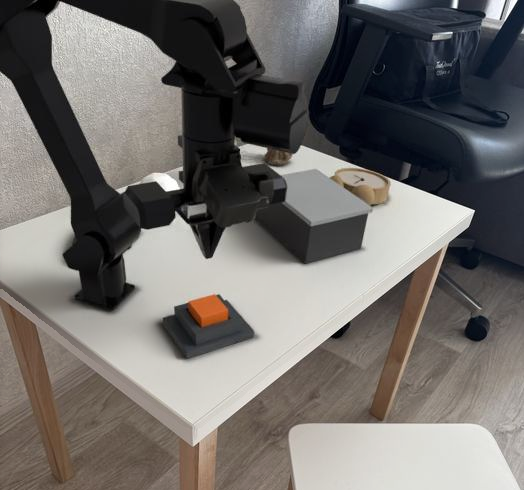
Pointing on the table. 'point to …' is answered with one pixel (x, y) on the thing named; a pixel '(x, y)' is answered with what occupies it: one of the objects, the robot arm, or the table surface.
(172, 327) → the block
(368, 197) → the alarm clock
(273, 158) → the figurine
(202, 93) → the robot arm
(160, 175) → the geometric ball
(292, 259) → the table surface
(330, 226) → the open storage box
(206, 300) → the button
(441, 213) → the table surface
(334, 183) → the lid
